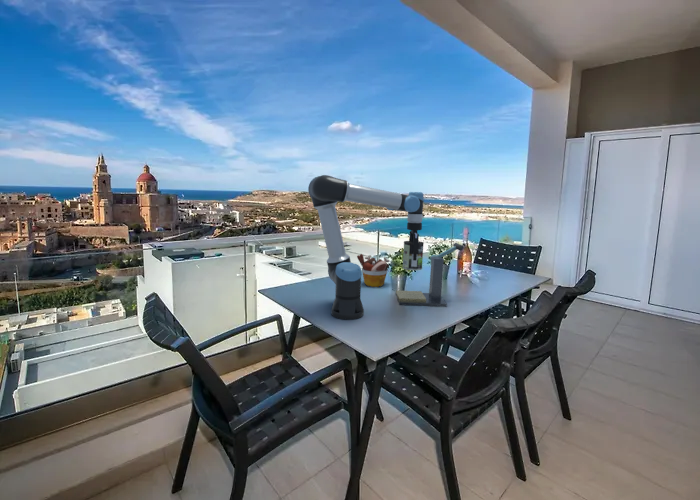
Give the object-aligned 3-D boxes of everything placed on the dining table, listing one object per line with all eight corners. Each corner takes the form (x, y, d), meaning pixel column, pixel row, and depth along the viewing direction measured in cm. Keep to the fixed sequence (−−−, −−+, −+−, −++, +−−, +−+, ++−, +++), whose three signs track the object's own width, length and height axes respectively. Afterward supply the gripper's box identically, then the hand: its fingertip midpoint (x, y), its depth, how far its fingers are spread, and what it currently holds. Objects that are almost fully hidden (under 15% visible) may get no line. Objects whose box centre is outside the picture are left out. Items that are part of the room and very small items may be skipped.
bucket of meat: (384, 280, 211) (385, 251, 208) (392, 287, 195) (394, 255, 192) (354, 281, 207) (355, 251, 204) (360, 289, 191) (361, 256, 188)
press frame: (399, 305, 164) (401, 260, 160) (395, 294, 182) (397, 253, 178) (446, 306, 164) (449, 261, 160) (438, 295, 181) (441, 255, 177)
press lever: (434, 265, 171) (431, 258, 171) (431, 261, 179) (428, 255, 179) (464, 249, 169) (461, 243, 169) (460, 247, 177) (456, 241, 177)
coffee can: (425, 268, 171) (427, 242, 169) (416, 271, 163) (418, 244, 161) (408, 265, 177) (409, 240, 175) (398, 268, 169) (400, 241, 167)
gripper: (426, 224, 155) (423, 269, 158) (418, 220, 177) (415, 260, 181) (410, 223, 155) (408, 268, 159) (404, 220, 177) (402, 259, 181)
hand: (412, 264), depth 170 cm, fingers closed on coffee can, 10 cm apart
